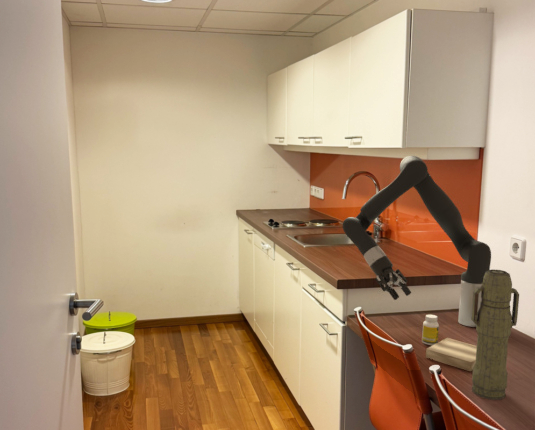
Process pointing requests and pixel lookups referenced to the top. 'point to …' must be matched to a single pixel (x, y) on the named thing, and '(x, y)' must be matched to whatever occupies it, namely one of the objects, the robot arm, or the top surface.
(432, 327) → the supplement bottle
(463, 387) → the top surface
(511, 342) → the top surface
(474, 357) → the base board
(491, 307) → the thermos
